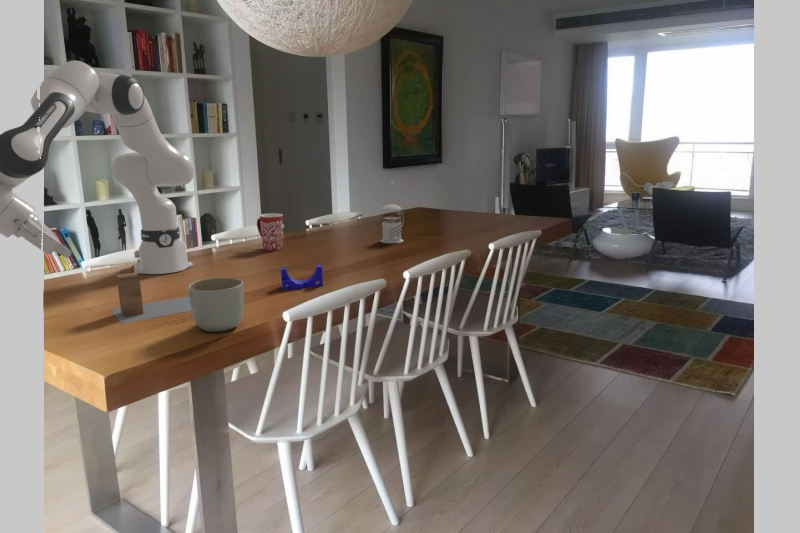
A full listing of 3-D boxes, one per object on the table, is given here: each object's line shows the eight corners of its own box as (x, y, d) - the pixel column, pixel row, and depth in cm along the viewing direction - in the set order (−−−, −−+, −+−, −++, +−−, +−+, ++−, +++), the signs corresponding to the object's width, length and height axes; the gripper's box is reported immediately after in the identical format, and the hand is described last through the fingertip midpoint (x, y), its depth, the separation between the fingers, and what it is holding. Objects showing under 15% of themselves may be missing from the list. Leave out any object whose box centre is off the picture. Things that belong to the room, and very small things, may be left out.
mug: (289, 248, 231) (287, 214, 228) (270, 252, 224) (268, 217, 221) (269, 244, 239) (267, 211, 236) (251, 248, 232) (248, 214, 229)
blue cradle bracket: (282, 290, 173) (281, 271, 171) (281, 286, 177) (280, 267, 175) (323, 287, 176) (322, 268, 174) (321, 283, 180) (320, 264, 178)
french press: (375, 241, 244) (374, 180, 238) (393, 237, 253) (392, 178, 247) (393, 244, 238) (392, 182, 232) (411, 239, 247) (411, 180, 241)
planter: (248, 332, 137) (245, 287, 135) (192, 339, 133) (188, 293, 131) (243, 316, 149) (240, 275, 146) (191, 322, 145) (187, 279, 142)
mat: (110, 310, 154) (110, 309, 154) (195, 296, 167) (195, 295, 166) (120, 324, 143) (120, 323, 143) (210, 308, 155) (210, 307, 155)
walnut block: (121, 312, 151) (116, 275, 149) (139, 309, 154) (135, 272, 152) (124, 317, 148) (119, 278, 145) (143, 313, 150) (139, 275, 148)
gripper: (27, 212, 125) (84, 251, 132) (21, 202, 141) (73, 238, 149) (5, 235, 123) (65, 273, 131) (2, 222, 140) (55, 257, 147)
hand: (69, 254), depth 140 cm, fingers closed
